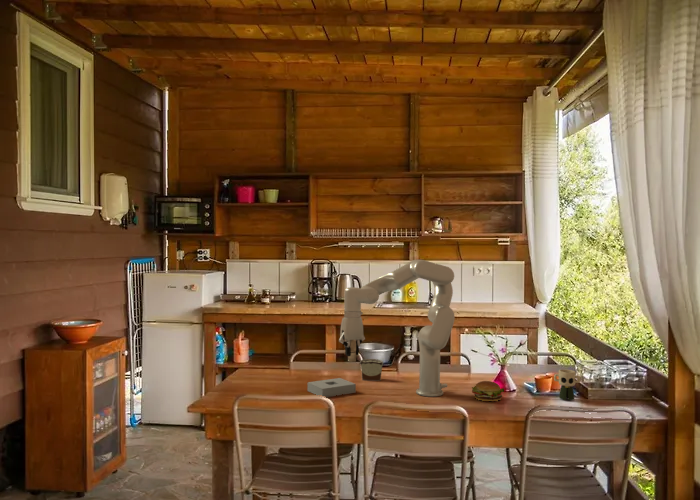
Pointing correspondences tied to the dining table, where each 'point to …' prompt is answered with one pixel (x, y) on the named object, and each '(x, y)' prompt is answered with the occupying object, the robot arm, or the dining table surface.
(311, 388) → the socket board
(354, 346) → the birch peg
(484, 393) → the food
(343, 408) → the dining table surface
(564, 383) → the character mug
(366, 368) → the food container
